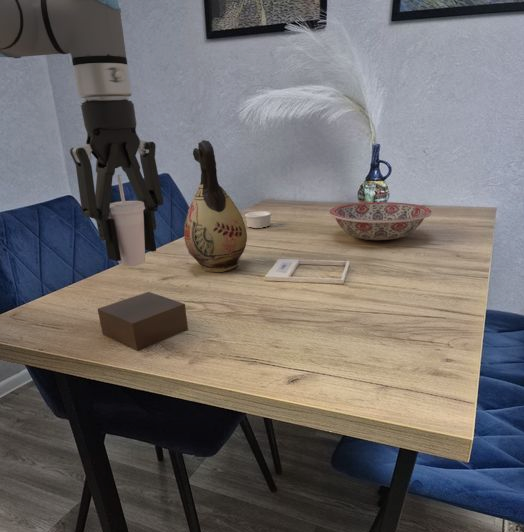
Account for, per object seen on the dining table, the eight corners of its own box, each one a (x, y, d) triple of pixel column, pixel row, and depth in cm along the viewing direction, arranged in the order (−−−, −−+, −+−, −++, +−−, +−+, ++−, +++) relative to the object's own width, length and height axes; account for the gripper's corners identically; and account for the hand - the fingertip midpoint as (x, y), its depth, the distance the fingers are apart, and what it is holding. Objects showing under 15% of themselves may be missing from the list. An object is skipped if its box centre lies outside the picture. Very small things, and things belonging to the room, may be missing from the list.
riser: (102, 334, 86) (97, 308, 83) (152, 315, 93) (148, 291, 90) (137, 350, 79) (132, 323, 77) (188, 329, 86) (185, 303, 84)
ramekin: (245, 229, 158) (244, 216, 156) (246, 224, 166) (245, 211, 164) (271, 228, 158) (271, 215, 156) (271, 223, 166) (270, 210, 164)
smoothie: (151, 255, 83) (138, 171, 77) (155, 265, 78) (141, 175, 72) (114, 260, 82) (97, 175, 75) (115, 270, 76) (98, 179, 70)
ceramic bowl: (335, 226, 157) (336, 201, 153) (427, 228, 150) (430, 202, 146) (321, 248, 132) (321, 220, 129) (430, 252, 125) (434, 221, 121)
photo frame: (278, 258, 121) (349, 260, 117) (279, 262, 121) (349, 264, 117) (264, 275, 108) (343, 278, 104) (265, 280, 109) (343, 283, 105)
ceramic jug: (184, 262, 125) (170, 139, 112) (241, 256, 128) (234, 136, 115) (192, 281, 110) (177, 142, 97) (256, 274, 114) (249, 138, 100)
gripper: (55, 99, 60) (92, 272, 71) (174, 97, 73) (191, 245, 83) (30, 102, 65) (68, 264, 75) (146, 100, 78) (165, 240, 88)
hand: (132, 254), depth 79 cm, fingers closed on smoothie, 6 cm apart
